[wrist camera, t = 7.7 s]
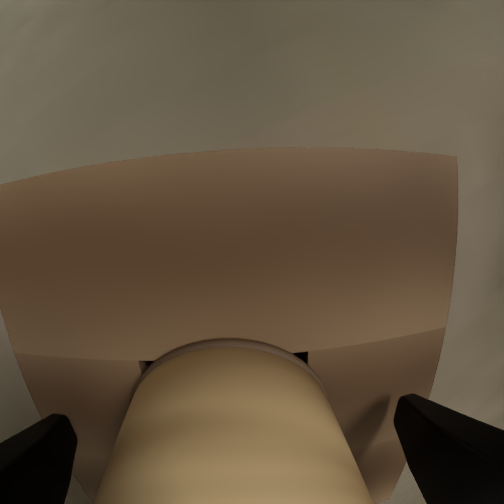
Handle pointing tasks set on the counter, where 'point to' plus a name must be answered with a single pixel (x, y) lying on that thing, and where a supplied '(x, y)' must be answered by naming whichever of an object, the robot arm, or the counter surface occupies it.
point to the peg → (231, 432)
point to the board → (232, 280)
